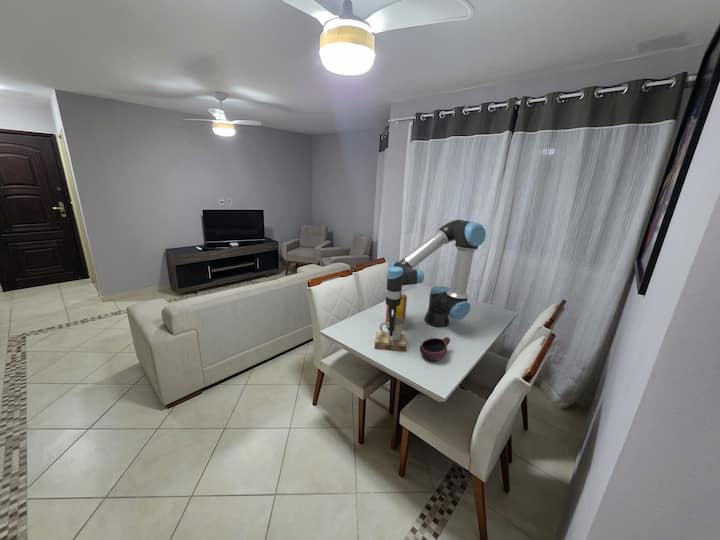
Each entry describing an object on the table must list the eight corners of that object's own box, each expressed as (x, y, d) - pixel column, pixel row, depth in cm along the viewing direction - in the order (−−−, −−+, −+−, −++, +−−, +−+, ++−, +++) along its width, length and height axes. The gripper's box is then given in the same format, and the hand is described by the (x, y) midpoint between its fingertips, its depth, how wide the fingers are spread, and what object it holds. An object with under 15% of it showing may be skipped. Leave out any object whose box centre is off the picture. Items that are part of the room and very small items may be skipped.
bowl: (442, 367, 127) (444, 353, 125) (416, 359, 133) (417, 345, 131) (449, 351, 141) (451, 337, 138) (425, 343, 147) (427, 330, 144)
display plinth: (404, 340, 149) (405, 333, 148) (405, 351, 139) (406, 344, 138) (375, 337, 151) (376, 331, 150) (374, 348, 141) (374, 342, 139)
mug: (402, 343, 139) (403, 325, 136) (377, 339, 141) (378, 322, 138) (402, 334, 147) (404, 318, 144) (379, 331, 149) (380, 315, 146)
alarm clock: (388, 315, 177) (390, 288, 171) (405, 317, 175) (407, 290, 169) (384, 329, 160) (386, 299, 154) (403, 332, 158) (406, 301, 152)
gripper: (386, 289, 146) (384, 327, 153) (385, 304, 128) (382, 346, 135) (400, 290, 145) (397, 328, 152) (401, 305, 127) (397, 347, 134)
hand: (390, 337), depth 144 cm, fingers closed on mug, 6 cm apart
